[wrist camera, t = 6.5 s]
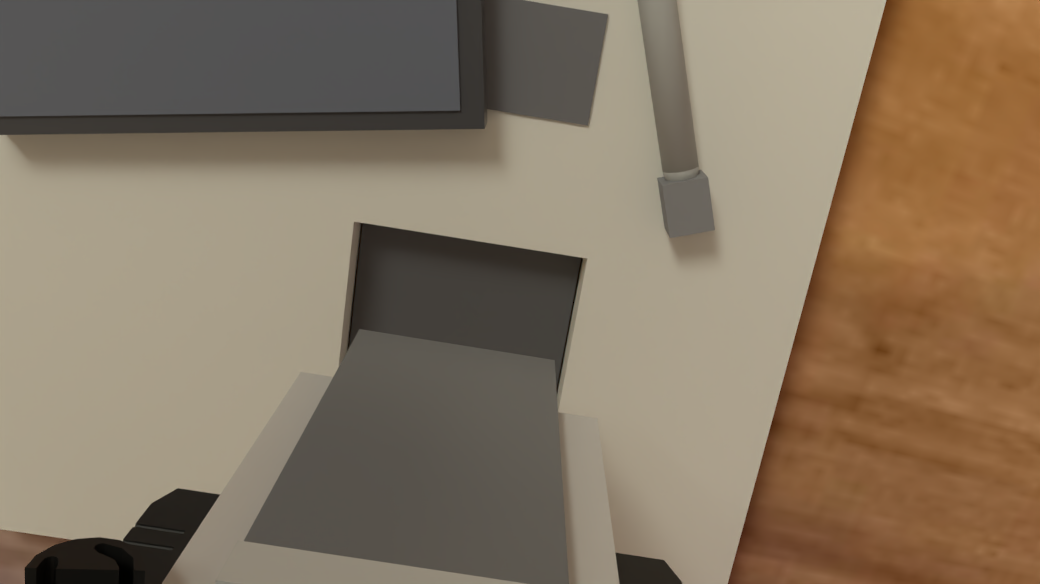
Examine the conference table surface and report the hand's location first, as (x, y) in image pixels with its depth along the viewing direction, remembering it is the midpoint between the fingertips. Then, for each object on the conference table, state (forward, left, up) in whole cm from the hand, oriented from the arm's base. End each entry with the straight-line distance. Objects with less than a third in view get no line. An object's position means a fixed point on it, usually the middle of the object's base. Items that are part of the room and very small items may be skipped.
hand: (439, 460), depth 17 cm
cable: (-9, +3, -5) cm, 11 cm away
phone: (-8, -6, -5) cm, 11 cm away
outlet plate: (-2, -2, -6) cm, 7 cm away
